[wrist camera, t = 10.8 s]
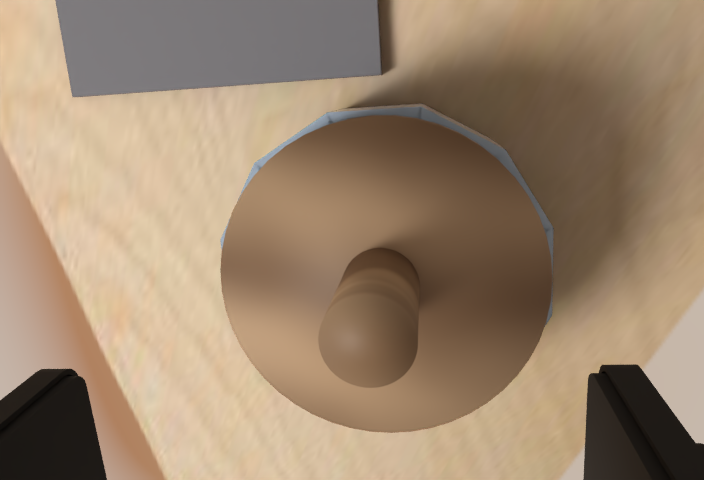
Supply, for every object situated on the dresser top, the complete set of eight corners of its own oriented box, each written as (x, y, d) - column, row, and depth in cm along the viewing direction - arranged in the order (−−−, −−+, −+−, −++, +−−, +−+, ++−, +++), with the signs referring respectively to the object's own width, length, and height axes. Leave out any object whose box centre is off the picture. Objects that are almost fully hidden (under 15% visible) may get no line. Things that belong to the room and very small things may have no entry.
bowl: (246, 114, 26) (205, 120, 21) (530, 96, 25) (555, 97, 20) (273, 367, 29) (243, 421, 24) (528, 366, 28) (550, 424, 23)
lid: (210, 127, 22) (130, 140, 16) (547, 102, 20) (597, 107, 14) (248, 419, 24) (193, 520, 19) (546, 418, 23) (587, 530, 17)
